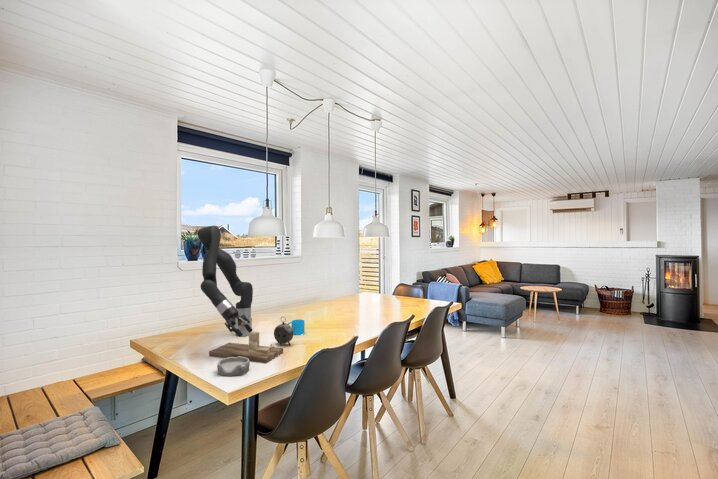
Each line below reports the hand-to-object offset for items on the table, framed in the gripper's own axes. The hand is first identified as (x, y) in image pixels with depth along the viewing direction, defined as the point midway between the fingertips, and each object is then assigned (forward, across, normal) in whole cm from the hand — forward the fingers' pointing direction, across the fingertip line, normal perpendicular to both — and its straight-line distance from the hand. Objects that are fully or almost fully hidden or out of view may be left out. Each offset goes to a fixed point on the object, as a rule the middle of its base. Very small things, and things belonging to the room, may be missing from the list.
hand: (246, 333), depth 180 cm
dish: (+13, -20, +3) cm, 24 cm away
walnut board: (+7, +1, +9) cm, 12 cm away
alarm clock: (+15, +21, +2) cm, 26 cm away
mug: (+12, +45, +6) cm, 47 cm away
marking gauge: (+12, +3, +1) cm, 12 cm away
